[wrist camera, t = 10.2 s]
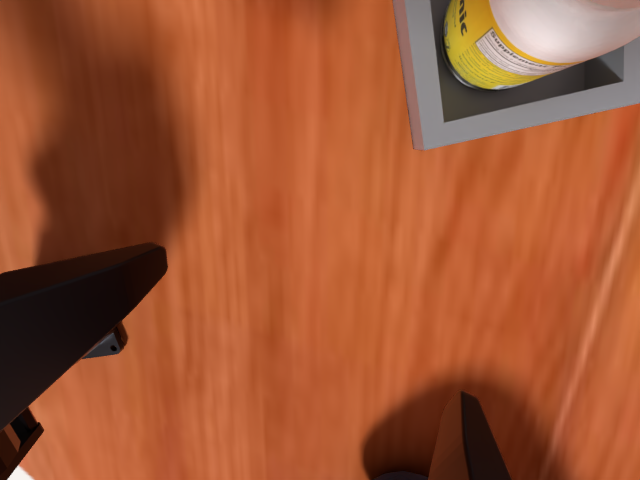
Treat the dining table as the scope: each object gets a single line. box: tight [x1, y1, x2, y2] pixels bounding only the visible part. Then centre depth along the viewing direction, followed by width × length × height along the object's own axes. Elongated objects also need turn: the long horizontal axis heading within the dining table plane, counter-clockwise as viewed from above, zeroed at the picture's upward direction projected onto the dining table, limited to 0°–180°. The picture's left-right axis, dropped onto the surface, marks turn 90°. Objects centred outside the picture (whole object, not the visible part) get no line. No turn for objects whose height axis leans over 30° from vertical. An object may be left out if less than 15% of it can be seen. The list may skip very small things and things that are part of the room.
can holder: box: [393, 0, 640, 150], centre depth 15 cm, size 9×9×3 cm
